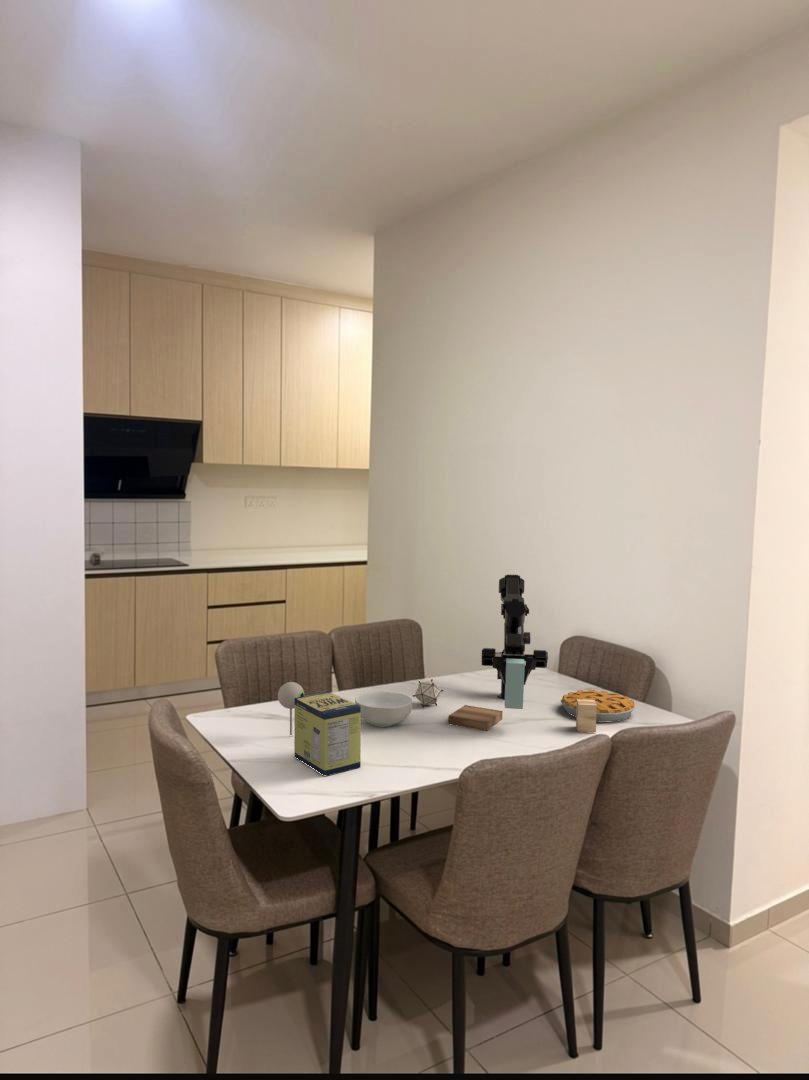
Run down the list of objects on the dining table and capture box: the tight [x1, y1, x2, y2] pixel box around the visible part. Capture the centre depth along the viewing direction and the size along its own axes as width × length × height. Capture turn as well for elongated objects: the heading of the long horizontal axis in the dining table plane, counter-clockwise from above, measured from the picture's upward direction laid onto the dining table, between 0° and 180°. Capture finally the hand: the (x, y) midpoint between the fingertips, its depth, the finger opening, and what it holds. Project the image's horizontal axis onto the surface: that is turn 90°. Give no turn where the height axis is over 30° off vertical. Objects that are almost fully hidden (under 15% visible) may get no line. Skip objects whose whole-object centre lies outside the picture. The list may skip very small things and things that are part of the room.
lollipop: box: [277, 681, 305, 736], centre depth 205 cm, size 7×7×15 cm
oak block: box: [575, 699, 597, 733], centre depth 214 cm, size 5×5×8 cm
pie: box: [560, 689, 636, 722], centre depth 231 cm, size 22×22×5 cm
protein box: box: [293, 691, 362, 776], centre depth 187 cm, size 10×16×16 cm
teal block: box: [504, 658, 526, 710], centre depth 213 cm, size 5×5×13 cm
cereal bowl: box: [354, 691, 413, 727], centre depth 219 cm, size 17×17×7 cm
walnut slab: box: [447, 704, 504, 732], centre depth 221 cm, size 12×12×3 cm
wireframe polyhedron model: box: [412, 678, 444, 709], centre depth 235 cm, size 9×8×10 cm
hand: (514, 684), depth 212 cm, fingers closed on teal block, 5 cm apart
